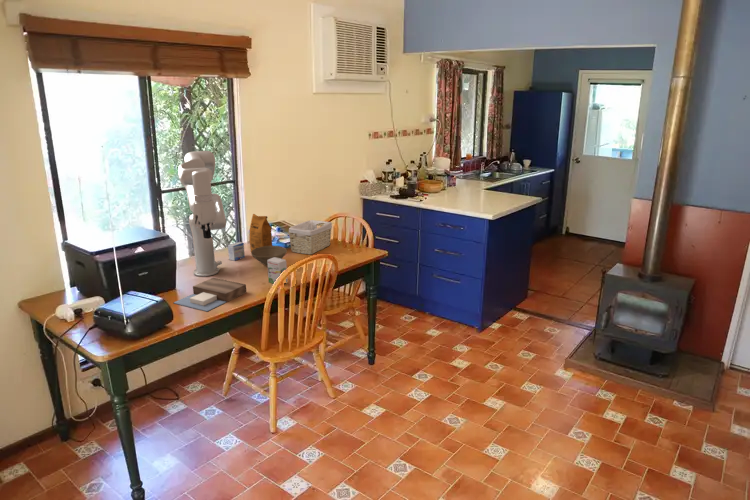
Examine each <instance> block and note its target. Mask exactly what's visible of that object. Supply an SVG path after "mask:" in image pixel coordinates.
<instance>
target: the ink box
mask: <svg viewBox="0 0 750 500" xmlns="http://www.w3.org/2000/svg"><path fill="white" fill-rule="evenodd" d="M267 264H268V265H267V276H268V283H270V284H273V283H274V282H275V281H276V279H277V278H278V277H279V276H280V274H281V273H282V272H283V271H284V270H286V269H288V268H287V259H284V258H282V259H280V258H276V257H273V258H271V259H268V260H267ZM286 282H287V283H288V278H287V279H286Z"/></svg>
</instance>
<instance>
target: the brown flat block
mask: <svg viewBox="0 0 750 500" xmlns="http://www.w3.org/2000/svg"><path fill="white" fill-rule="evenodd" d="M192 292H193V293H192V294H196V295H198V294H200V293H203V292H205V293H209V294H213V295H217V300H221V301H226V303H228V302H230V301H232V300H234V299H237V298H238V297H240V296H243V295H244V294H247V284H245V283H242V282H235V281H231V280H227V279H222V278H217V277H212V278H209V279H207V280H204V281H202V282H200V283H198V284H197V283H196V284H195V285H193V286H192Z"/></svg>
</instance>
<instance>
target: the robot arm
mask: <svg viewBox="0 0 750 500" xmlns="http://www.w3.org/2000/svg"><path fill="white" fill-rule="evenodd" d="M183 160H184V162H183V163H180V164H179V165H178V168H177V169H178V170H177V171H178V172H177V173H178V179H179V181H180V184H181V185H183V187H184V189H185V190H186V195H187V199H188V200H187V202H188V205H189V209H190V212H192V213H191V214H190V215H189V217H188V223H189V227H190V230H191V235H192V243H193V244H192V245H193V251H194V261H195V269H194V270H193V271H192V273H193V275H194V276H197V277H209V276H214V275H217V274H218V273H219V272H220V269H219V267H218V266H220V265H222V264H223V262H222V261H221V260H219V261H216V258H215V257H216V256H215V248H214V247H215V246H214V239H213V237H212V231H218V230H223V229H224V228H225V227H226V226H227V219H226V215H225V210H224V206H223V201H222V198H221V196H220V195H219V194H218V193H213V192H212V185H211V184H212V181H213V178H214V175H215V170H216V157H215V155H214V153H213V152H212V151H210V150H196V151H189V152H187V153H185V155H184V158H183Z"/></svg>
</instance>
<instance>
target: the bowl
mask: <svg viewBox="0 0 750 500" xmlns="http://www.w3.org/2000/svg"><path fill="white" fill-rule="evenodd" d="M287 252H288V249H287V248H285V247H283V246H281V245H272V246H263V247H259V248H256V249H254V250H252V252H251V251H250V254H251V256H252V258H254V259H255V260H256V261H258V262H259V263H260V264H262V265H265V266H268V264H267V260H268V259H271V258H273V257H276V258H280V259H284V258H285V256H286V254H287Z"/></svg>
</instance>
